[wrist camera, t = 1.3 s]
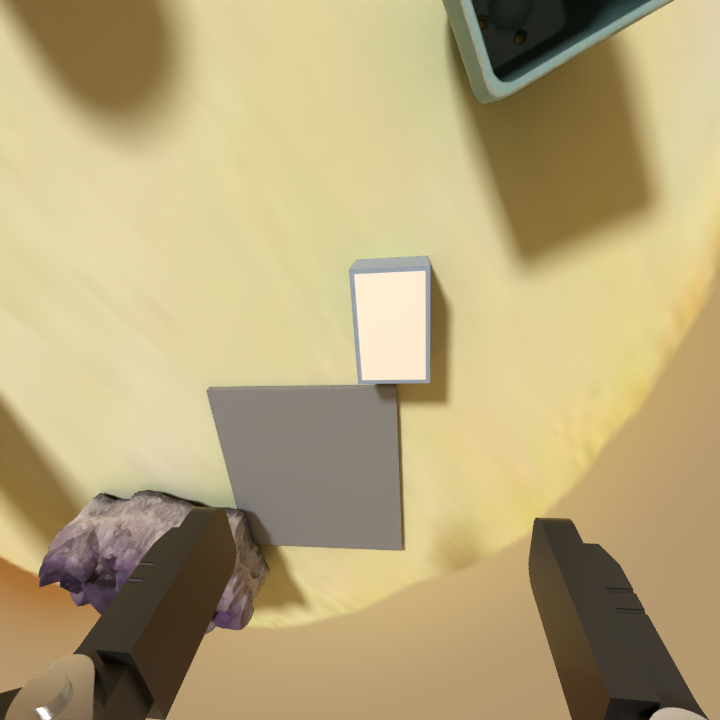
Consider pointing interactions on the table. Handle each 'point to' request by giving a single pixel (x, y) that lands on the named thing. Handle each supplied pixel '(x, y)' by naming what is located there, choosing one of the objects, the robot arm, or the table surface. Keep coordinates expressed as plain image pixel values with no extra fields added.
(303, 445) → the rubber mat
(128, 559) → the geode
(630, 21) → the flower pot
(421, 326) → the card box
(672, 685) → the robot arm
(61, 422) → the table surface
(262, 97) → the table surface
